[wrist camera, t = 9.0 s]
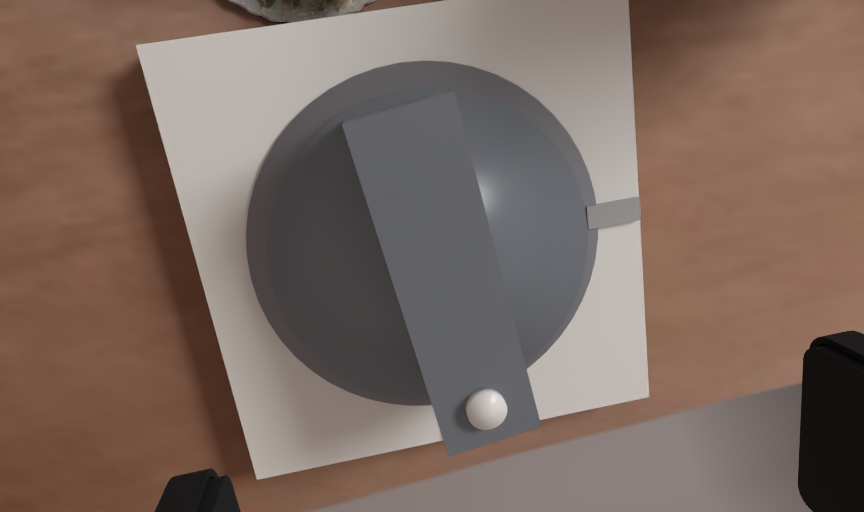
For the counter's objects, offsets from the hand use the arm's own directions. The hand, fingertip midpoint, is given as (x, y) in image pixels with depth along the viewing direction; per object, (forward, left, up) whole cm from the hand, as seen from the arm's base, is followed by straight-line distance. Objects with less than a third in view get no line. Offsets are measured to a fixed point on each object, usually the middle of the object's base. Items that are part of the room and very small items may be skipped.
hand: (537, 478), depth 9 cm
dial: (0, 0, -16) cm, 16 cm away
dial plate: (0, 0, -18) cm, 18 cm away
